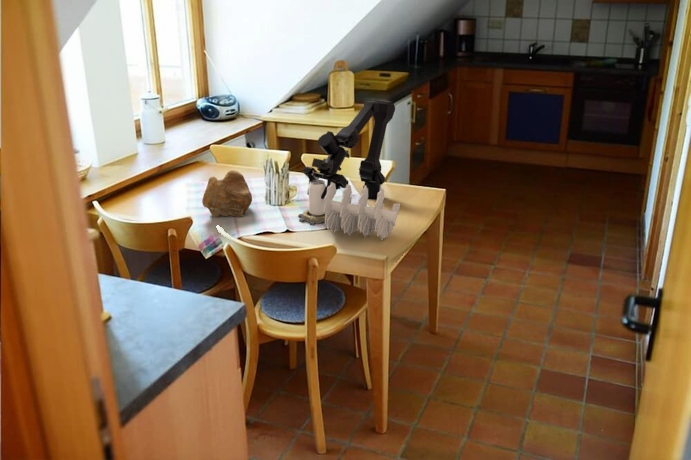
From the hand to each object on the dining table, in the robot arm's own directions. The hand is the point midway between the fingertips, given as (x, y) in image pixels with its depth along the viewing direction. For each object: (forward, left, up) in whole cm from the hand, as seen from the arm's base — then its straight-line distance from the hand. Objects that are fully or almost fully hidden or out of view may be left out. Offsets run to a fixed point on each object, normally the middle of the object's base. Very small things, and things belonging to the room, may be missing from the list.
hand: (314, 196), depth 239 cm
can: (-1, -1, -7) cm, 7 cm away
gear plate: (-1, -1, -9) cm, 9 cm away
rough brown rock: (+32, +1, -9) cm, 34 cm away
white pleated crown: (-20, +11, -9) cm, 24 cm away
